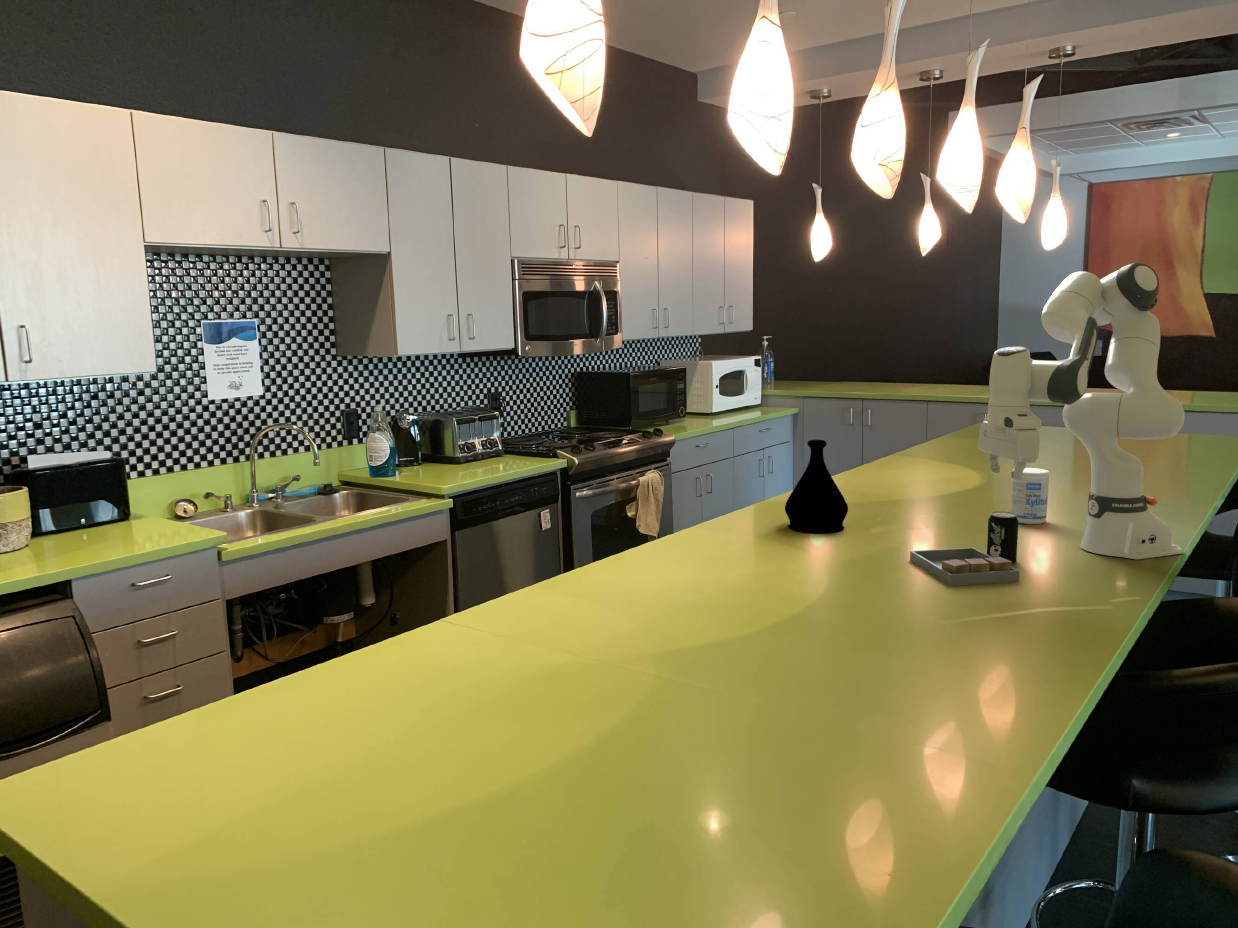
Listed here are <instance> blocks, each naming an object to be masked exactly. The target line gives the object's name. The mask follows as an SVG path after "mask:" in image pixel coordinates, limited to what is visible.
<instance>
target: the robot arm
mask: <svg viewBox="0 0 1238 928" xmlns="http://www.w3.org/2000/svg"><path fill="white" fill-rule="evenodd" d="M1159 291H1160V280H1159V277H1158V275H1157V273H1156V272H1155V270H1154V269H1153V268H1152V267H1151V266H1150V265H1148V264H1146V263H1143V262H1133V263H1129V264H1126V265H1124V266H1122V267H1120V268H1119V269H1118V270H1115V271H1113V272H1111V273H1109V274H1108V275H1106V276H1104V277H1102V278H1101V279H1100V278H1099V277H1098V276H1097V275H1095V274H1094V273H1092V272H1089V271H1083V270H1081V271H1076V272H1073V273H1071V274H1069V275H1068V276H1066V278H1065V279H1063V280H1062V282H1061V283H1060V284H1059V285H1058V286H1057V287H1056V289H1054V291H1053V292H1052V294H1051V296H1049V298H1048V300H1047V301H1046V303H1045V305H1044V306H1043V309H1042V312H1041V315H1040V317H1041V323H1042V324H1041V325H1042V328H1043V329H1044V330H1045V332H1046V333H1047V334H1048V335H1049V336H1051V337H1052V338H1053V339H1054V340H1057V341H1059V342H1061V343H1067V344H1069V345H1072V347H1071V351H1070V353H1069V357H1067V358H1065V359H1060V360H1059V359H1058V360H1043V359H1041V360H1040V359H1033V358H1031V353H1030V349H1029V348H1027V347H1024V346H1019V345H1018V346H1016V345H1015V346H1007V347H1002V348H999V349H997V350H995V351H994V353H993V355H992V360H991V364H990V372H989V383H988V385H989V387H988V388H989V392H990V397H989V400H988V404H987V405H988V406H987V414H986V416H984V418H983V422H981V424H980V428H979V433H978V441H977V442H978V443H977V446H978V449H979V451H980V452H984V453H986V454H987V460H988V464H989V472H991V473H993V474H999V473H1000V472H1001V465H999V461H998V460H999V459H998V458H999V457H1000V458H1005V459H1008V460H1011V461H1013V465H1014V468H1013V469H1014V471H1013V470H1012V471H1010V472H1011V476H1010V477H1011V480H1012V479H1014V480H1021V479H1022V472H1023V470H1024V468H1027V467H1026V466H1027V464H1028V463H1029V464H1030V463H1032V464H1033V463H1036V462H1037V460H1038V459H1039V454H1040V442H1041V439H1040V438H1041V435H1040V431H1039V429H1041V428H1042V419H1040V418H1039V416H1037V415H1036V414H1034V412H1033V411H1032V410H1031V409H1030V408H1031V407H1030V405H1031V403H1030V401H1032V402H1041V403H1042V402H1045V403H1047V402H1048V403H1054V404H1059V405H1060V404H1061V405H1064V407H1063V409H1062V421H1063V423H1064V425H1065V428H1066V429H1067V430H1068V431H1069V432H1070V433H1072V435H1074V436H1075V437H1076V438H1077V439H1078V440H1079V441H1080V442H1081V443H1082V445H1083V446H1084V448H1085V449H1086V451H1087V453H1088V456H1089V460H1090V468H1091V476H1090V477H1091V482H1090V491H1089V492H1088V498H1087V499H1088V500H1087V512H1088V513H1087V514H1088V515H1087V521H1086V527H1085V530H1084V533H1083V537H1082V539H1081V543H1080V544H1079V547H1080V549H1082V550H1084V551H1087V552H1090V553H1094V554H1098V555H1102V556H1111V557H1118V558H1119V557H1120V558H1124V559H1125V558H1126V559H1132V560H1144V559H1150V558H1159V557H1165V556H1167V557H1168V556H1171V555H1172V556H1173V555H1179V554H1183V549H1182V547H1181V546H1179V545H1177V544H1175V543H1173V539H1172V538H1173V535H1172V530H1171V528H1170V526H1169V525H1168V524H1167V523H1165V522H1164V521H1163V520H1162V519H1160V518H1159V517H1157V516H1156V515H1155V514H1154V513H1152V512H1151V511H1150V510H1149V507H1148V505H1149V506H1152V507H1157V504H1159V499H1157V498H1156V497H1153V496H1148V497H1147V496H1145V495H1143V486H1144V476H1145V475H1144V474H1145V473H1144V472H1145V467H1144V464H1143V462H1142V461H1141V460H1140V458H1138V457H1137V456H1135V455H1133V454H1132V453H1129V452H1128V451H1126V450H1124V449H1122V448H1121V447H1120V446H1119V443H1118V440H1119V439H1127V440H1131V439H1132V440H1147V441H1148V440H1149V441H1155V440H1164V439H1170V438H1174V437H1175V436H1176V435H1177V434H1178V433H1179V432H1180V431H1181V429H1182V428H1183V426H1184V423H1185V418H1186V416H1185V415H1186V413H1185V409H1184V407H1183V405H1182V404H1181V402H1180V401H1179V400H1178V399H1177V398H1175V396H1172V395H1171V394H1169V393H1168V392H1167V391H1166V390H1165V389H1164V388H1163V387H1162V385H1161V384H1160V382H1159V379H1158V362H1159V361H1158V360H1159V353H1160V349H1161V327H1160V321H1159V319H1158V317H1157V316H1156V315H1155V314H1153V313H1152V312H1150V311H1152V310H1153V309H1154V308H1155V307H1156V305H1157V303H1158V295H1159ZM1109 324H1111V327H1112V335H1111V337H1110V342H1109V345H1108V351H1107V356H1106V361H1105V366H1104V375H1105V378H1106V380H1107V381H1108V383H1110V384H1111V386H1113V387H1114V388H1116V389H1118V390H1121V391H1123V392H1097V391H1092V392H1087V388H1088V384H1089V383H1088V382H1089V374H1090V369H1091V366H1092V363H1093V360H1094V355H1095V351H1096V348H1097V345H1098V344H1097V343H1098V339H1099V329H1102V328H1104V327H1106V326H1108V325H1109Z"/></svg>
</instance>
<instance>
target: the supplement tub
mask: <svg viewBox="0 0 1238 928" xmlns="http://www.w3.org/2000/svg"><path fill="white" fill-rule="evenodd" d="M1013 471H1014V468H1013V469H1012V472H1013ZM1010 484H1011V485H1010V486H1011V487H1010V488H1011V489H1010V490H1011V491H1010V501H1009V503H1010V504H1009V512H1012V513H1015V514H1017V516H1016V517H1017V519H1018V524H1026V525H1040V524H1041V525H1042V524H1044V523H1045V522H1046V521H1047V513H1048V498H1049V497H1048V496H1049V484H1050V471H1049V470H1047V469H1045V468H1038V467H1036V468H1035V467H1025V468H1024V470H1023V472H1022V479H1021V480H1014V479H1012V478H1011V483H1010Z"/></svg>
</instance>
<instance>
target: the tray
mask: <svg viewBox="0 0 1238 928" xmlns="http://www.w3.org/2000/svg"><path fill="white" fill-rule="evenodd" d="M909 553H910V554H909V561H910V562H911V563H913V564H914V565H916V566H918V567H919V568H921V569H922V570H924V571H925V572H927V573H929V574H930V575H932V576H934V577H935V578H936V579H938V580H940V581H942V582H943V583H945V584H946V585H948V586H949V587H950V586H953V587H954V586H968V585H969V586H970V585H981V584H982V585H983V584H984V585H985V584H997V583H998V584H999V583H1015V582H1020V570H1019V569H1017V568H1015V567H1013V566H1011V570H1010V571H993V572H977V573H961V574H951V573H949V572H947V571H946V570H944V569H942V561H948V560H954V559H957V560H960V561H963V562H964V559H981V558H982V559H983V560H984V558H993V557H991V556H989V555H987V552H986V553H985V552H983V551H981V550H980V549H977V548H975V547H957V548H955V547H954V548H937V549H922V550H910V552H909Z"/></svg>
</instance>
